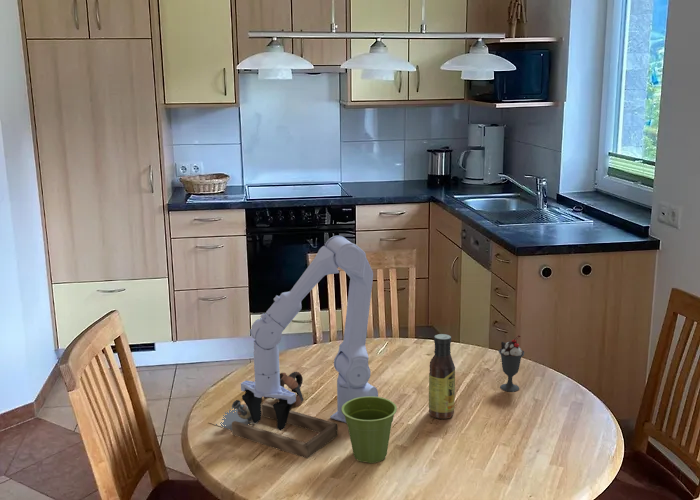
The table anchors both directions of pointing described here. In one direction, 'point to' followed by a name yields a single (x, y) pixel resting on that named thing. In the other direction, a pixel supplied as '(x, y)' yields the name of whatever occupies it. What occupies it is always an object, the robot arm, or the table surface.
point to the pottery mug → (292, 385)
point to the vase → (242, 411)
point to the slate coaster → (232, 419)
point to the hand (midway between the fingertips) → (269, 424)
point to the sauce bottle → (442, 379)
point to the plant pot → (369, 426)
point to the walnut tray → (285, 443)
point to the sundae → (510, 362)
